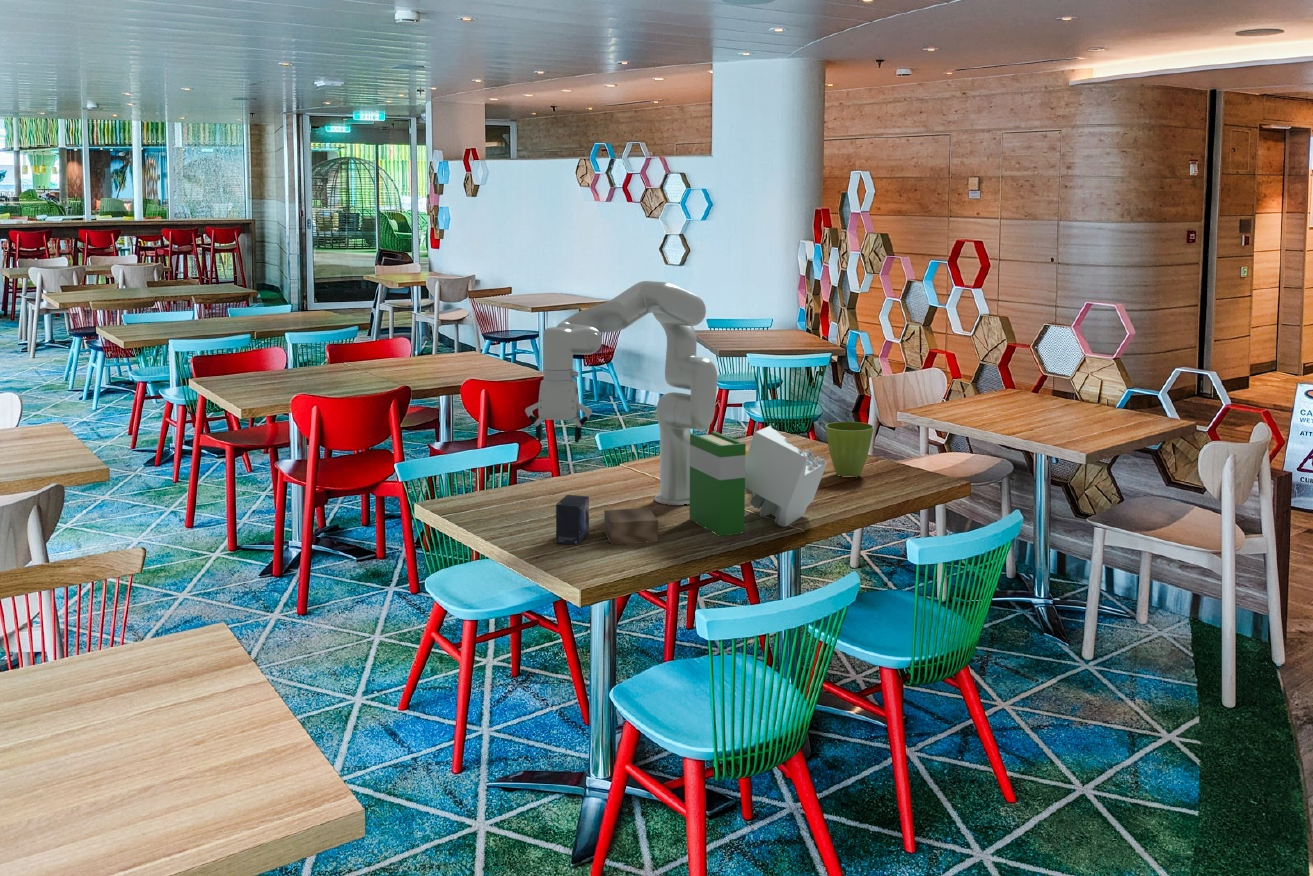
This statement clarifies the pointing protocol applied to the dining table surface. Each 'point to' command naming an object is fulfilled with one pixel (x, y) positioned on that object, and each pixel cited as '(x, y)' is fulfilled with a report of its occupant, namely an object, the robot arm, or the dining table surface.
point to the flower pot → (849, 446)
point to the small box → (572, 519)
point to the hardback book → (717, 483)
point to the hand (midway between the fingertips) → (558, 441)
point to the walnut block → (630, 525)
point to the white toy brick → (781, 476)
